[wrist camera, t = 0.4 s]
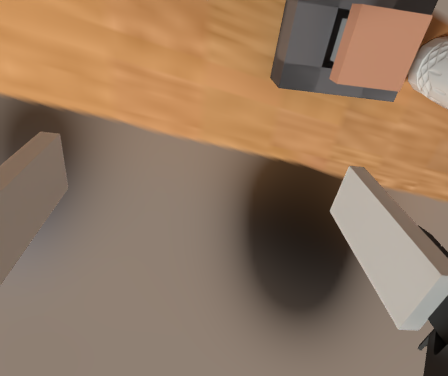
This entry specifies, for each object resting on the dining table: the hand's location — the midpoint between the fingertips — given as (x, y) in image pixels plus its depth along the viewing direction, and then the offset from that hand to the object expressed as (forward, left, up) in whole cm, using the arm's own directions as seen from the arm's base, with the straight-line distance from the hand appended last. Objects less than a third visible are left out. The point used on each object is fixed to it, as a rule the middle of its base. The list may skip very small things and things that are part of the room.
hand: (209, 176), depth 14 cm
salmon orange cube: (-5, +15, -22) cm, 27 cm away
